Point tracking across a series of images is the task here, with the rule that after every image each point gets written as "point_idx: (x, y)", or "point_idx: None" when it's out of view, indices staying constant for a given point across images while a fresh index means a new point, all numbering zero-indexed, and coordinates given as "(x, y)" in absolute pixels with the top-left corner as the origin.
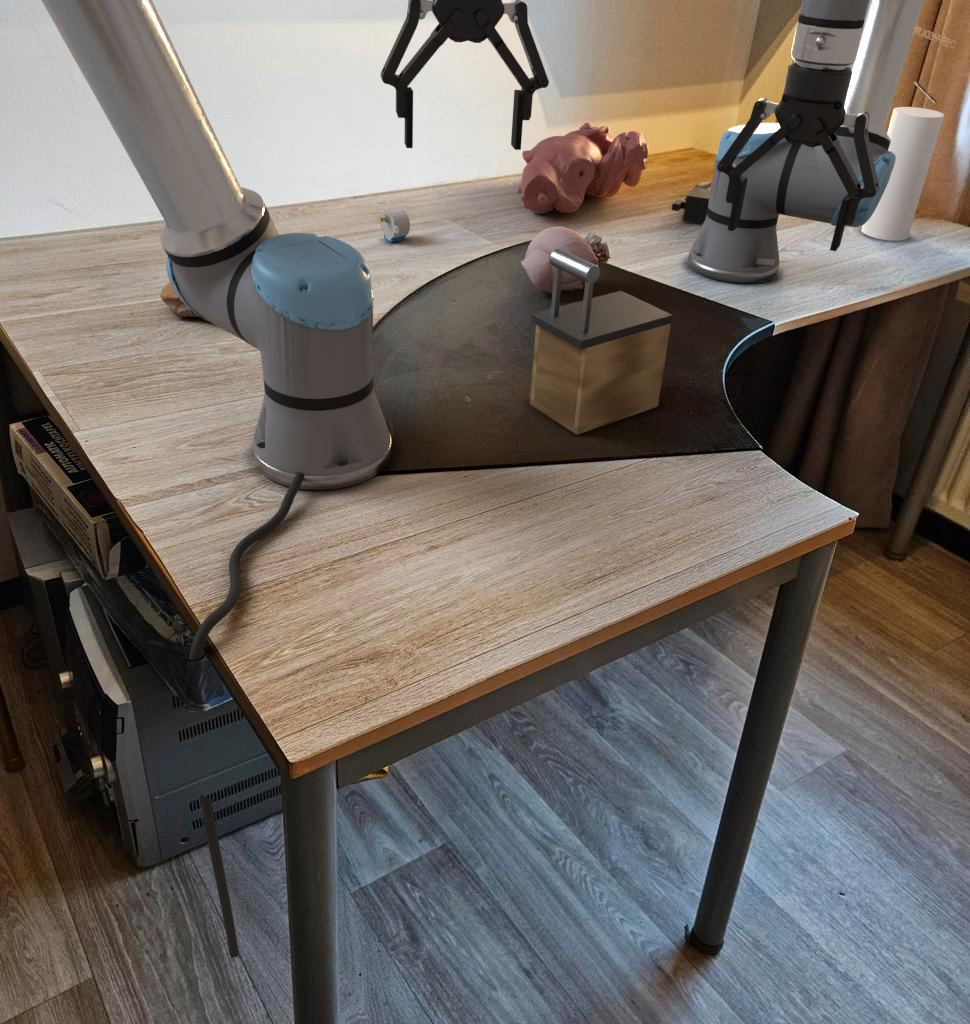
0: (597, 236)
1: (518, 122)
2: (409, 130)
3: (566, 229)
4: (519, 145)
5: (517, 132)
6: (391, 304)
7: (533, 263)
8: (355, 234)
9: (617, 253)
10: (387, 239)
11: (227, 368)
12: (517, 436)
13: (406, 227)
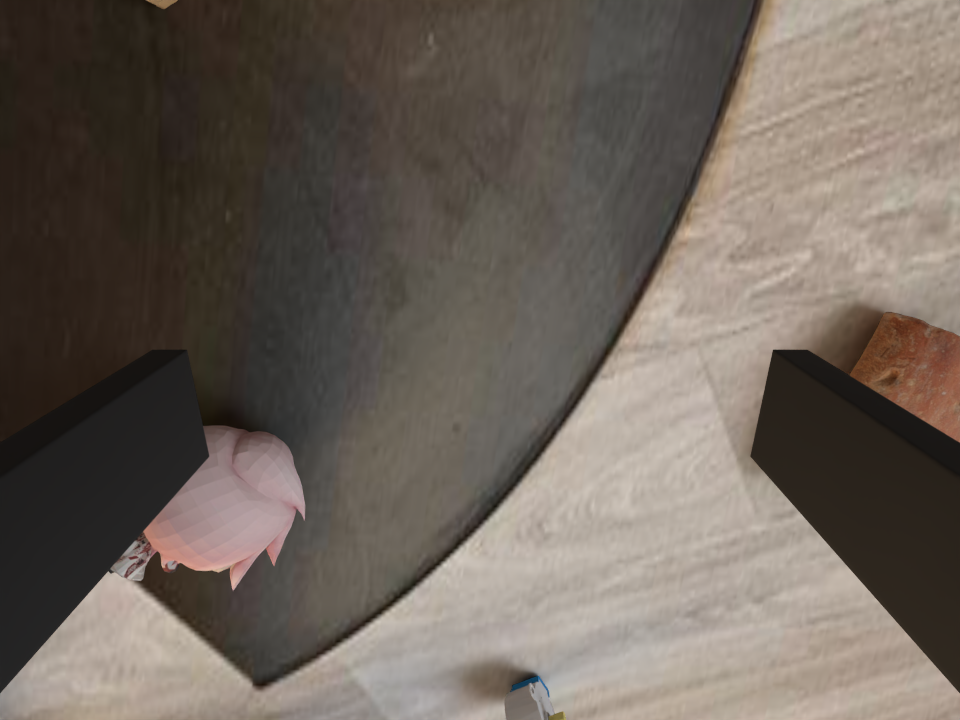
0: None
1: (72, 420)
2: (852, 388)
3: (171, 534)
4: (148, 357)
5: (119, 387)
6: (579, 417)
7: (277, 464)
8: (594, 709)
9: (112, 625)
10: (543, 684)
11: (955, 134)
12: None
13: (511, 701)
